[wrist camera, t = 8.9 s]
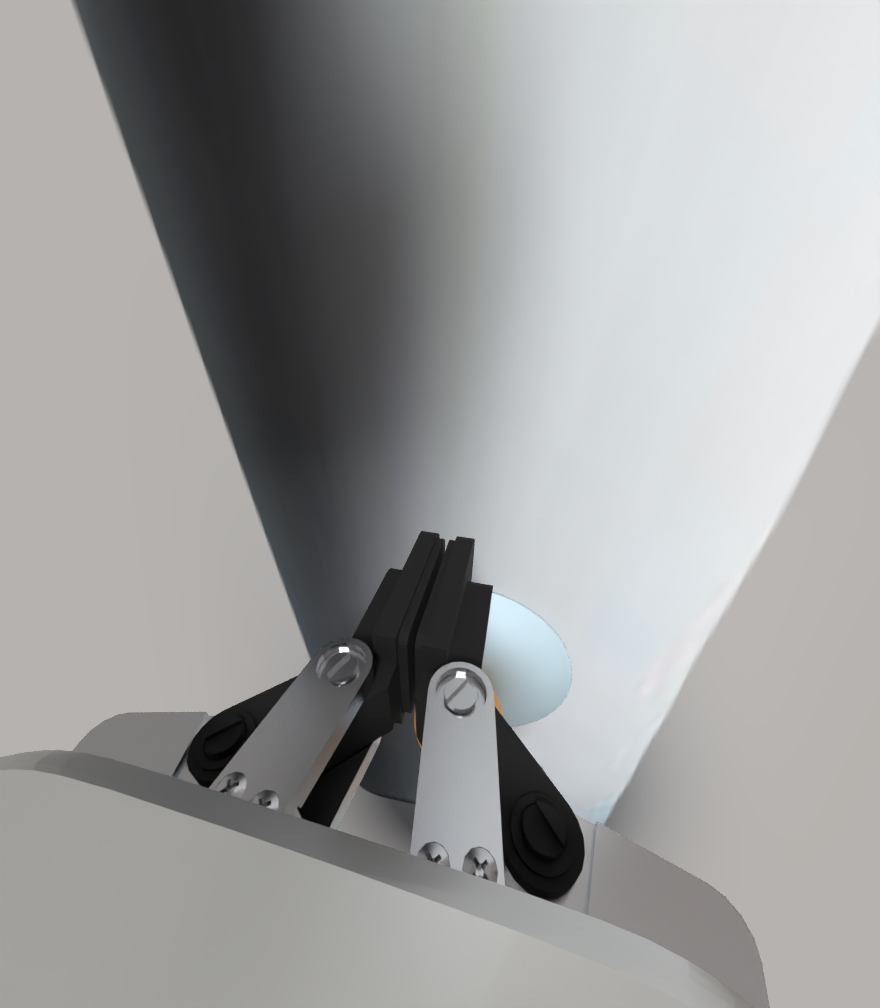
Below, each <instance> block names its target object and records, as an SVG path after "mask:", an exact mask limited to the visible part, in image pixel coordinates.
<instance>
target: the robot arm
mask: <svg viewBox="0 0 880 1008" xmlns="http://www.w3.org/2000/svg"><path fill="white" fill-rule="evenodd" d="M474 543H475V539H472V538H465V537H458V536H457V537H456V540H455V541H453V540H449V543H448V545H447V548H446V551H445V539H440V538H439V534H438V533H431V532H425V531H421V532H420V534H419V536H418V538H417V540H416V543H415V545H414V547H413V549H412V551H411V553H410V555H409V557H408V559H407V561H406V563H405V565H404V568H403V570H399V569H393V568H391V569H389V570H388V572H387V573H386V575H385V577H384V579H383V581H382V583H381V585H380V586H379V588H378V590H377V592H376V594H375V596H374V598H373V600H372V602H371V603H370V605H369V607H368V609H367V611H366V613H365V615H364V617H363V619H362V620H361V622H360V624H359V626H358V628H357V630H356V632H355V634H354V635H353V637H352V638H340V639H337V640H334V641H331V642H330V643H328V644H326V645H325V646H323V647H322V648H321V649H320V650H319V651H318V652H317V653H316V654H315V655H314V657H313V658H312V659H311V660H310V662H309V663H308V664H307V665H306V667H305V668H304V669H303V671H302V672H301V673H300V674H299V675H298V676H296V677H294V678H292V679H290V680H288V681H285V682H284V683H281V684H279V685H277V686H275V687H273V688H271V689H269V690H266V691H264V692H262V693H260V694H258V695H256V696H254V697H252V698H249V699H247V700H245V701H243V702H241V703H239V704H237V705H235V706H232V707H230V708H228V709H226V710H224V711H222V712H221V713H219V714H217V715H216V716H209V715H208V714H207V712H154V713H153V712H152V713H151V712H150V713H125V714H119V715H116V716H114V717H112V718H109V719H107V720H105V721H103V722H102V723H100V724H99V725H98V726H96V727H95V728H94V729H92V730H91V731H90V732H89V733H88V734H87V735H86V736H85V737H84V738H83V739H82V740H81V741H80V742H79V743H78V745H77V746H76V747H75V749H74V750H73V751H62V750H53V751H52V750H44V751H35V752H26V753H19V754H14V755H10V756H5V757H1V758H0V1008H770V1007H769V1001H768V995H767V990H766V984H765V978H764V972H763V967H762V962H761V959H760V956H759V952H758V949H757V946H756V943H755V939H754V937H753V936H752V934H751V932H750V930H749V928H748V927H747V925H746V923H745V921H744V919H743V918H742V916H741V915H740V914H739V912H738V911H737V910H736V909H735V908H734V906H733V905H732V904H731V903H730V902H729V900H728V899H727V898H726V897H725V896H724V895H723V894H721V893H720V892H719V891H717V890H716V889H715V888H713V887H712V886H710V885H709V884H708V883H706V882H704V881H703V880H701V879H699V878H697V877H695V876H693V875H692V874H690V873H688V872H686V871H684V870H683V869H681V868H679V867H677V866H676V865H674V864H672V863H670V862H668V861H667V860H665V859H663V858H661V857H659V856H657V855H656V854H654V853H652V852H650V851H649V850H647V849H645V848H643V847H641V846H640V845H638V844H636V843H634V842H632V841H631V840H629V839H627V838H625V837H623V836H622V835H619V834H618V833H616V832H614V831H612V830H611V829H609V828H607V827H606V826H604V825H602V824H600V823H598V822H597V823H596V824H595V825H594V824H592V823H590V822H588V821H586V820H585V819H583V818H581V817H579V816H578V815H576V814H574V813H573V811H572V809H571V808H570V806H569V805H568V803H567V802H566V801H565V799H564V798H563V797H562V795H561V794H560V792H559V791H558V790H557V788H556V787H555V786H554V784H553V783H552V782H551V780H550V779H549V778H548V776H547V775H546V774H545V772H544V771H543V770H542V768H541V767H540V766H539V764H538V763H537V762H536V760H535V759H534V758H533V756H532V755H531V754H530V752H529V751H528V750H527V748H526V747H525V746H524V744H523V743H522V742H521V740H520V739H519V738H518V736H517V735H516V734H515V732H514V731H513V730H512V728H511V727H510V726H509V724H508V723H507V722H506V720H505V719H504V718H503V716H502V715H501V714H500V712H499V711H498V710H497V708H496V707H495V703H494V692H493V687H492V684H491V682H490V680H489V678H488V676H487V675H486V674H485V673H484V672H483V671H482V663H483V656H484V649H485V642H486V635H487V627H488V620H489V613H490V605H491V597H492V589H493V586H491V585H486V584H480V583H474V582H471V578H472V567H473V555H474ZM414 704H415V711H416V737H417V739H418V740H419V742H420V744H421V746H422V750H421V759H420V768H419V777H418V786H417V795H416V804H415V814H414V823H413V832H412V841H411V851H410V854H408V853H405V852H402V851H399V850H396V849H393V848H390V847H387V846H384V845H381V844H378V843H374V842H372V841H368V840H365V839H362V838H359V837H356V836H353V835H350V834H347V833H344V832H341V831H338V830H337V829H338V827H339V824H340V823H341V821H342V819H343V817H344V815H345V813H346V810H347V808H348V806H349V805H350V803H351V800H352V798H353V796H354V794H355V792H356V790H357V788H358V786H359V784H360V782H361V780H362V778H363V776H364V774H365V772H366V770H367V768H368V766H369V764H370V762H371V760H372V758H373V756H374V754H375V752H376V750H377V748H378V746H379V743H380V740H381V737H382V736H383V735H385V734H386V733H388V732H390V731H391V730H392V729H393V726H394V723H395V722H396V723H399V724H401V723H402V720H403V717H404V714H405V712H409V713H411V712H412V710H413V707H414Z"/></svg>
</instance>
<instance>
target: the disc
mask: <svg viewBox="0 0 880 1008" xmlns="http://www.w3.org/2000/svg"><path fill="white" fill-rule="evenodd" d="M482 671H483V672H484V673H485V674H486V675H487V676H488V678H489V680H490V682H491V684H492V687H493V690H494V692H495V693H496V695H497V697H498V699H499V702H500V705H501V709H502V713H503V718H504V719H505V720H506V722H507V723H508V724H509V726H510V727H511V726H519V725H524V724H528V723H531V722H534V721H537V720H539V719H541V718H543V717H545V716H547V715H549V714H550V713H552V712H553V711H555V710H556V709H557V708H558V707H559V706H560V705H561V704H562V702H563V701H564V700H565V698H566V697H567V694H568V692H569V690H570V687H571V682H572V667H571V662H570V657H569V655H568V652H567V650H566V647H565V646H564V644H563V642H562V641H561V639H560V637H559V636H558V635H557V634H556V632H555V631H554V630H553V629H552V627H550V626H549V625H548V624H547V623H546V622H545V621H544V620H543V619H542V618H541V617H539V616H538V615H537V614H535V613H534V612H533V611H531V610H530V609H528V608H526V607H525V606H523V605H521V604H520V603H518V602H516V601H514V600H512V599H509V598H507V597H505V596H502V595H499V594H497V593H494V592H492V597H491V605H490V613H489V620H488V627H487V635H486V642H485V649H484V656H483V663H482Z"/></svg>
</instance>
